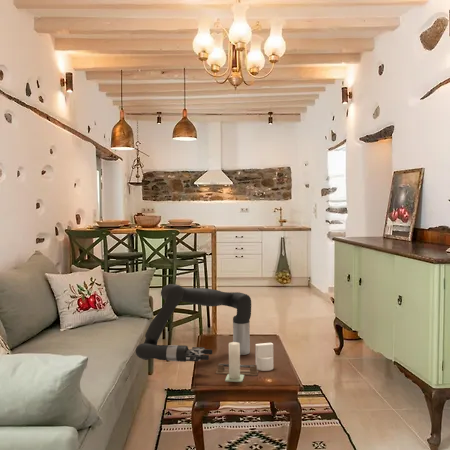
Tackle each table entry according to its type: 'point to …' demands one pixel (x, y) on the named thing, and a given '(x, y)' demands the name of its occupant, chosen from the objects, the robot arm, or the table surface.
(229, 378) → the sage mat
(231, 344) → the tall cream cylinder
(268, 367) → the cylinder with rectangular tab
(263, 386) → the table surface
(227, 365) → the metal rod
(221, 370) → the rail stand
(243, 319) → the robot arm
